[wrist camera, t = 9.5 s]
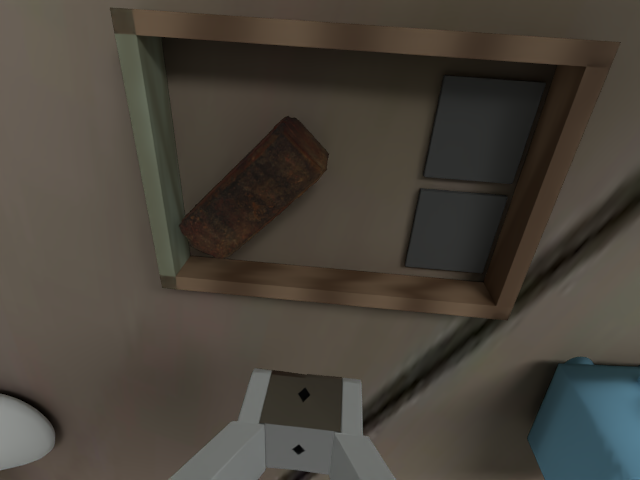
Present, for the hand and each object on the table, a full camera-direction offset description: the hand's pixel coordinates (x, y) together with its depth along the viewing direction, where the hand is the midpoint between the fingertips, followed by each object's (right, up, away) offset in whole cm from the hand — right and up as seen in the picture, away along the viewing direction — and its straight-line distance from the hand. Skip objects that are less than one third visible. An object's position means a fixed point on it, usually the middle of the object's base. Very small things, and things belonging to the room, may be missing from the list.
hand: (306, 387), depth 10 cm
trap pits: (+11, +8, +16) cm, 20 cm away
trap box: (+2, +9, +16) cm, 18 cm away
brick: (-4, +9, +17) cm, 19 cm away
